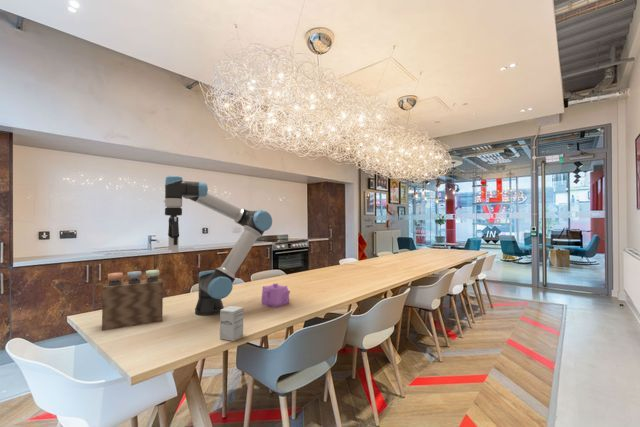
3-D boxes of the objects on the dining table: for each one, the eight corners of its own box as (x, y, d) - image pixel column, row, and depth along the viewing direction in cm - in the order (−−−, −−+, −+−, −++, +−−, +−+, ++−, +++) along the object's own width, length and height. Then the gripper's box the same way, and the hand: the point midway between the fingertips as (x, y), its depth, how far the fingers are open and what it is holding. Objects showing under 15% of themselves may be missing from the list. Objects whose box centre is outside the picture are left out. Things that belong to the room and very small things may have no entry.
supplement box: (219, 339, 127) (219, 309, 128) (230, 333, 134) (230, 305, 134) (233, 341, 124) (233, 311, 125) (243, 335, 131) (244, 306, 132)
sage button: (145, 279, 149) (146, 272, 150) (145, 277, 155) (145, 270, 155) (159, 278, 153) (159, 270, 153) (158, 276, 158) (159, 269, 158)
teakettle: (261, 301, 189) (261, 281, 190) (288, 299, 192) (288, 280, 193) (261, 308, 172) (261, 287, 173) (290, 307, 176) (290, 286, 176)
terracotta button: (107, 283, 141) (107, 275, 141) (108, 281, 146) (108, 273, 147) (122, 281, 144) (122, 273, 144) (122, 279, 150) (123, 272, 150)
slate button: (127, 281, 145) (127, 273, 146) (127, 279, 151) (127, 271, 151) (141, 280, 148) (141, 272, 149) (141, 278, 154) (141, 270, 154)
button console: (101, 330, 138) (102, 284, 139) (104, 324, 147) (105, 280, 147) (162, 321, 151) (162, 278, 152) (161, 315, 160) (161, 275, 160)
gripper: (162, 208, 154) (162, 249, 153) (167, 206, 133) (167, 253, 132) (178, 208, 158) (178, 248, 157) (186, 206, 137) (185, 252, 136)
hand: (173, 250), depth 144 cm, fingers open, 13 cm apart
